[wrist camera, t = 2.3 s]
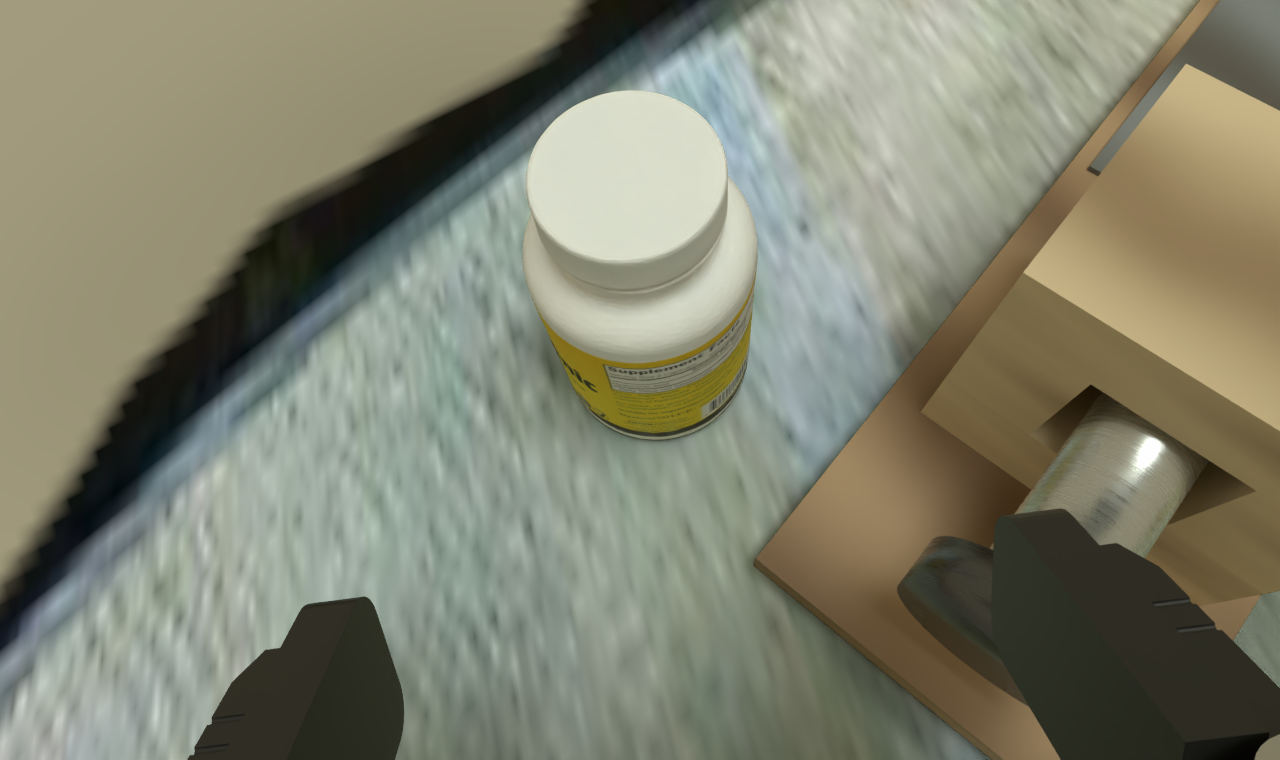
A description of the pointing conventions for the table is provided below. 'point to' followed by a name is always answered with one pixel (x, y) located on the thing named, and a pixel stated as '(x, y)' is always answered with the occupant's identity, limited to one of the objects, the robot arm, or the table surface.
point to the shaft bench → (933, 504)
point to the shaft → (1075, 481)
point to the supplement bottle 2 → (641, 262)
